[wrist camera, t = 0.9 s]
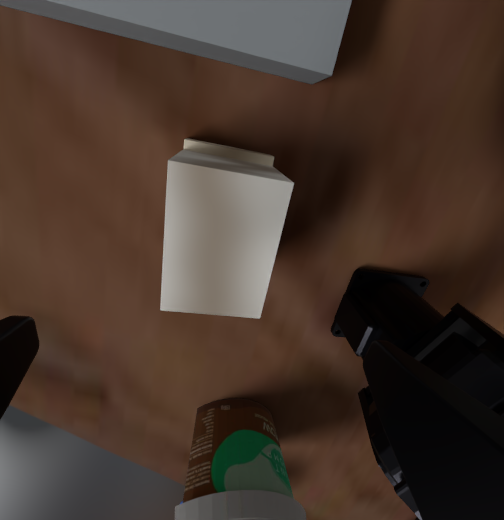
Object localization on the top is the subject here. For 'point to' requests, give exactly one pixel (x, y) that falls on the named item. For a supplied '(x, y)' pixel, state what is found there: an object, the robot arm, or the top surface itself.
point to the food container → (237, 466)
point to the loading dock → (220, 29)
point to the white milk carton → (221, 229)
